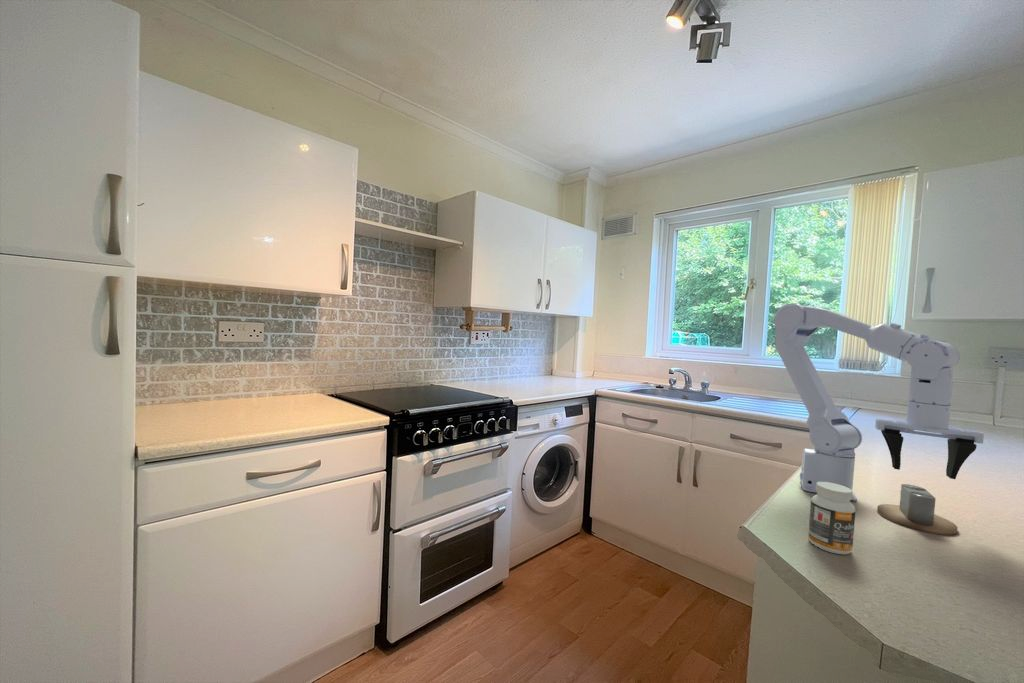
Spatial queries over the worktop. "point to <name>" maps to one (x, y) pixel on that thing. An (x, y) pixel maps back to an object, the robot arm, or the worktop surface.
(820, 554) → the worktop surface
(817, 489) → the pill bottle
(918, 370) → the robot arm
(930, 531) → the walnut coaster
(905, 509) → the grey connector plug
